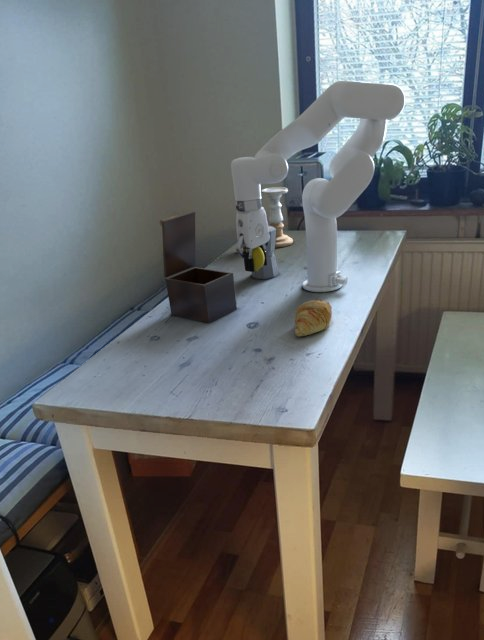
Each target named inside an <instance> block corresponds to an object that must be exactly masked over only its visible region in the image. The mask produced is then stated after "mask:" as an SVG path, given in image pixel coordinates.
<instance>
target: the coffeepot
mask: <svg viewBox="0 0 484 640" xmlns="http://www.w3.org/2000/svg"><path fill="white" fill-rule="evenodd" d="M268 228H269V235H270V239H269V241H268V245H267V251H266V257H267V265H266V266H265V265H263V266H262V267H261V268H260V269H259V270H258V271H254V272H251V276H252V277H253V278H254V279H257V280H268V279H272V278H275V277H277V276H278V275H279V269H278V265H277V260H276V256H275V254H274V251H275V248H276V247H275V237H276V229H275V228H274V227H270V226H269V225H268Z"/></svg>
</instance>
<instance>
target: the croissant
mask: <svg viewBox="0 0 484 640" xmlns="http://www.w3.org/2000/svg"><path fill="white" fill-rule="evenodd" d="M332 311H333V310H332V305H331V304H330V302H328V301H323V300H322V299H313V300H312V299H311V300H308V301H305V302H303V303H302V304H300V305H299V306H298V307H297V308H296V310H295V312H294V328H295V329H294V335H295V336H296V337H306V336H310V335H313V334H315V333H318V332H321V331H323V330H326V329H328V327H329V325H330V323H331V320H332V315H333V312H332Z"/></svg>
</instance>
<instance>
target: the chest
mask: <svg viewBox="0 0 484 640" xmlns="http://www.w3.org/2000/svg"><path fill="white" fill-rule="evenodd" d="M234 278H235V277H234V272H229V271H223V270H217V269H211V268H204V267H198V266H194V267H191V268H189V269H186V270H184V271H181V272H179V273H176V274H174V275H171V276H169V277H165V285H166V290H167V296H168V303H169V309H170V315H171V316H174V317H179V318H184V319H189V320H193V321H199V322H203V323H207V324H210V323H212V322H214V321H216V320H218V319H220V318H222V317H224V316H226V315H228V314H230V313H232V312H235V310H237V309H238V308H237V297H236V287H235V279H234Z"/></svg>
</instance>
